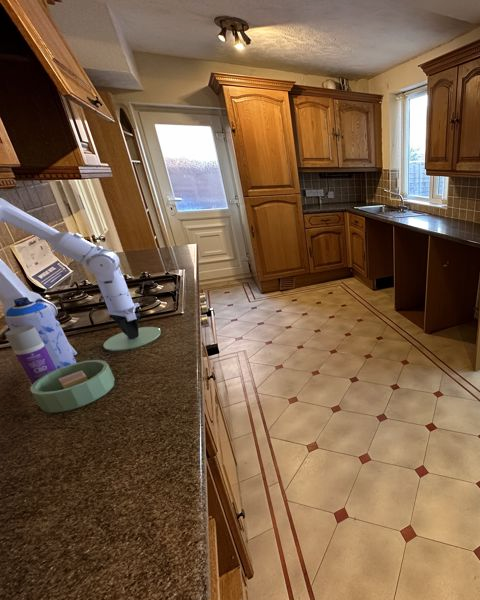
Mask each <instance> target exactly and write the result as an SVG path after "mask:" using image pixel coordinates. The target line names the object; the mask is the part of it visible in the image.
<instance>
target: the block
mask: <svg viewBox="0 0 480 600" xmlns="http://www.w3.org/2000/svg"><path fill="white" fill-rule="evenodd" d="M58 380H59V381H60V383H61V385H62V389H66V388H70V387H73V386H75V385H78V384H80V383H83V382H85V381H87V380H89V378H87V377H86V375H85V374H84V373H83V371H82V370H81V371H78V372H76V373H73V374H70V375H68V376H65V377H62V378H59V379H58Z"/></svg>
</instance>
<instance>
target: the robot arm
mask: <svg viewBox="0 0 480 600" xmlns="http://www.w3.org/2000/svg"><path fill="white" fill-rule="evenodd" d="M0 223H6V224H8V225H11V226H12V227H15V228H17V229H19V230H22V231H23V232H26V233H28V234H30V235H33V236H34V237H37V238H39V239H40V240H43V241H46V242H48V243H49V245H50V247H51V249H52V251H55V252H57V253H59V254H61V255H62V256H65V257H66V258H69V259H71V260H72V261H75V262H77V263H80V264H82V265H84V266H86V269H87V270H88V271H89V272H90V273H91V274H93V275H94V277H95V280H96V284H97V285H98V288H99V290H100V293H101V295H102V298H103V300H104V303H105V305H106V308H107V313H108V314H109V316H108V317H109V318H110V319H111V320H113V321H114V322H115V324H117V325H118V327H119V328H120V330H121V331H122V332H124V334H125V335H126V334H127V335H126V336H128V337H129V338H130V339H132V338H135V337H138V336H139V331H138V328H139V321H140V319H141V314H140V313H139V312H137V313H135V312H136V308H138V307H140V306H141V305H140V303H139V302H134V301H133V299H132V296H131V293H130V291H129V288H128V285H127V283H126V280H125V276H124V275H123V272H122V270H121V267H120V266H119V265H120V261H121V260H120V257H119V256H118V255H117V253H116V252H114V251H113V250H111V249H107V248H104V247H103V246H101V245H98V246H97V245H95V244H93V243H92V242H90V241H88V240H86V239H84V238H82V237H83V235H82V234H80V233H78V232H76V233H73V232H71V231H58V230H57V229H55V228H53V227H52V226H50V225H48V224H47V223H45V222H43V221H41V220H39V219H37V218H36V217H34V216H32V215H31V214H29V213H27V212H25V211H24V210H22V209H20V208H18V207H17V206H15V205H13V204H12V203H10V202H8V201H7V200H6V199H4V198H2V197H0ZM23 297H27V298H28V299H29V301H34V302H40V303H42V304H44V305H47V306H48V307H49V308H50V309H51V311H52V313H53V315H54V317H55V318H56V317H57V316H58V313H59V311H58V308H57V306H56V305H55V304H54V303H53V302H51V301H49V300H47V299H45V298H43V296H41V294H39V293H37V292H34V291H31V290H30V289H29V288H28V287H27V286H26V285H25V284H24V283H23V282H22V280H21V279H20V278H19V277H18V276H17V275H16V274H15V273H14V271H12V269H11V268H10V267H9V266H8V265H7V264H6V263H5V262H4V260H2V258H0V302H1V304H2V305H1V306H2V314H3V316H4V315H5V314H6V313H7V311H8V309H10V308H11V307H12V306H14V305H15V303H14V300H15V299H19V298H23ZM56 321H57V323H58V325H59V327H60V329H61V331H62V334H63V336H64V338H65V340H66V342H67V344H68V346H69V348H70V350H71V352H72V354H73V356H76V355H78V352H77V350H75V348H73V346H72V345H71V344H70V342H69V341H68V338H67V336H66V334H65V332H64V330H63V328H62V326H61V323H60V321H58V320H57V319H56Z"/></svg>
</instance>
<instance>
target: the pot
mask: <svg viewBox="0 0 480 600" xmlns="http://www.w3.org/2000/svg"><path fill="white" fill-rule="evenodd" d="M81 370H82V371H83V373H84V374H85V375H86V377H87V379H88V380H87V381H85V382H83V383H80V384H78V385H75V386H73V387H70V388H66V389H63V387H62V385H61V383H60V381H59V380H58V379H59V378H62V377H65V376H68V375H70V374H73V373H76V372H78V371H81ZM115 380H116V379H115V377H114V375H113V372H112V370H111V368H110V365H109V364H108V363H107V362H106V361H105V360H102V359H90V360H89V359H88V360H82V361H79V362H76V363H74V364H70V365H67V366H65V367H62V368H59V369H56V370H54V371H52V372H50V373H48V374H46V375H44V376H43V377H41V378H40V379H38V380H37V381H35V382H34V383H33V385H32V384H31V386H30V388H29V390H30V392H31V394H32V396H33V398H34V400H35V401H36V403H37V405H38V406H39V408H40V410H42V411H43V412H45V413H52V414H54V413H61V412H67V411H71V410H72V411H73V410H75V409H78V408H81V407H83V406H86V405H88V404H90V403H93V402H95V401H97V400H98V399H100V398H102V397H103V396H105V395H106V394H108V393H109V392H110V391H111V390H112V389H113V388H114V386H115V384H116V382H115Z"/></svg>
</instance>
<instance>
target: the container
mask: <svg viewBox="0 0 480 600" xmlns="http://www.w3.org/2000/svg"><path fill="white" fill-rule="evenodd" d="M4 335H5V338H6V339H7V342H8V343H9V346H10V347H11V349H12V351H13V353H14V355H15V356H16V357H15V358H16V359H17V360H18V362H19V363H20V366H21V367H22V369H23V370H24V373H25V374H26V376H27V378H28V379H29V381H30V383H31V386H32V385H33V383H34V382H35V381H37V380H38V379H40V378H41V377H43V376H44V375H46V374H48V373H50V372H52V371H54V370H56V369H57V368H56V366H55V364H54V362H53V360H52V358H51V356H50V354H49V352H48V350H47V348H46V346H45V345H44V343H43V341H42V339H41V338H40V336H39V334H38V332H37V331H36V329H35V327H34V326H23V327H18V328H15V329H12V330H10V329H9V330H8V331H5V332H4Z"/></svg>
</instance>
